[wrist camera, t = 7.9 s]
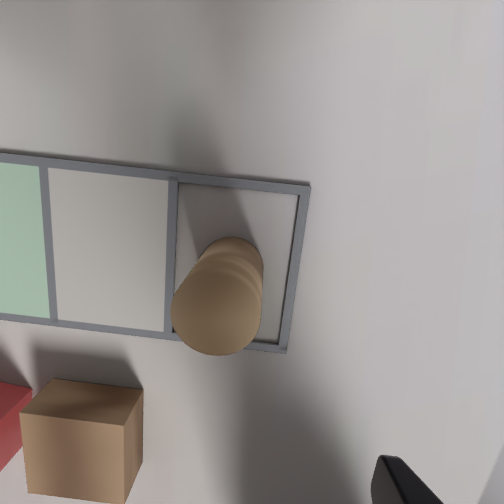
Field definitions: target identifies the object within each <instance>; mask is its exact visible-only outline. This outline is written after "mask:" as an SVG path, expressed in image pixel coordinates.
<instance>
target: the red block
mask: <svg viewBox="0 0 504 504" xmlns="http://www.w3.org/2000/svg"><path fill="white" fill-rule="evenodd" d="M31 400H32V389H31V388H26V387H21V386H17V385H12V384H8V383H3V382H0V471H1V470H2V469H3V468H4V467H5V466H6V464H7V463H8V462H9V461H10V460H11V459H12V457H13V456H14V455H15V454H16V453H17V452H18V450H19V449H20V448H21V447H22V446H23V443H22V434H21V425H20V416H19V412H20V411H21V410H22V409H23V408H24V407H25V406H26V405H27V404H28V403H29V402H30V401H31Z"/></svg>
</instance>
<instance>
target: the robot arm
mask: <svg viewBox="0 0 504 504" xmlns="http://www.w3.org/2000/svg"><path fill="white" fill-rule="evenodd" d="M371 497H372V503H373V504H444V503H443V502H442V501H441V500H440V499H439V498H438V497H437V496H436V495H435V494H434V493H433V492H432V491H431V490H430V489H429V488H428V487H427V485H426V484H425V483H424V482H423V481H422V480H421V479H420V478H419V477H418V476H417V475H416V474H415V473H414V472H413V471H412V470H411V469H410V467H409V466H408V465H407V464H406V463H405V462H404V461H403V460H402V459H401V458H399V457H396V456H388V455H380V456H379V457H378V460H377V463H376V467H375V470H374V474H373V478H372V482H371Z"/></svg>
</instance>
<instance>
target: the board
mask: <svg viewBox="0 0 504 504" xmlns="http://www.w3.org/2000/svg"><path fill="white" fill-rule="evenodd" d="M179 182H184V183H193V184H202V185H211V186H220V187H229V188H238V189H248V190H257V191H266V192H275V193H284V194H293V195H300V197H299V204H298V211H297V218H296V225H295V232H294V239H293V246H292V253H291V260H290V267H289V274H288V281H287V288H286V295H285V302H284V309H283V317H282V324H281V331H280V338H279V344H275V343H267V342H258V341H251V342H250V343H249V344H248V345H247V346H246V347H244V348H243V349H249V350H257V351H266V352H274V353H282V354H286V350H287V343H288V337H289V330H290V323H291V317H292V310H293V303H294V297H295V290H296V284H297V277H298V270H299V264H300V257H301V251H302V244H303V237H304V231H305V224H306V217H307V211H308V204H309V198H310V191H311V186H303V185H293V184H284V183H275V182H266V181H257V180H248V179H238V178H229V177H220V176H211V175H202V174H193V173H183V172H174V171H165V170H156V169H147V168H138V167H128V166H119V165H110V164H101V163H92V162H83V161H73V160H64V159H55V158H46V157H37V156H28V155H18V154H9V153H0V320H7V321H15V322H23V323H32V324H40V325H48V326H57V327H65V328H73V329H82V330H90V331H98V332H107V333H115V334H124V335H132V336H140V337H149V338H157V339H165V340H174V341H182V340H181V339H180V337H179V336H178V335H177V333H176V332H175V331H173V325H172V322H171V316H170V308H171V303H172V299H173V297H174V285H175V260H176V236H177V211H178V187H179ZM182 342H183V341H182Z"/></svg>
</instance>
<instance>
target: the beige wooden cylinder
mask: <svg viewBox="0 0 504 504" xmlns="http://www.w3.org/2000/svg"><path fill="white" fill-rule="evenodd" d="M262 283H263V261H262V258H261V255H260V253H259V252H258V250H257V249H256V248H255V247H254V246H253V245H252V244H251V243H249V242H248V241H246V240H244V239H241V238H237V237H225V238H221V239H218V240H216V241H214V242H213V243H212V244H210V245H209V246H208V247H207V249H206V250H205V251H204V253H203V254H202V256H201V257H200V259H199V260H198V261H197V263H196V264H195V266H194V267H193V268H192V270H191V271H190V273H189V274H188V276H187V277H186V278H185V280H184V281H183V283H182V284H181V286H180V287H179V288H178V290H177V291H176V293H175V295H174V297H173V299H172V303H171V308H170V316H171V322H172V325H173V327H174V330H175V332H176V333H177V335H178V336H179V337H180V339H181V340H182V341H183V342H184V343H185V344H186V345H188V346H189V347H191V348H192V349H194V350H196V351H198V352H200V353H204V354H207V355H214V356H222V355H229V354H232V353H235V352H237V351H240V350H241V349H243V348H244V347H246V346H247V345H248V344H249V343H250V342H251V341H252V340H253V338H254V337H255V336H256V334H257V332H258V329H259V326H260V320H261V302H262Z"/></svg>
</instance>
